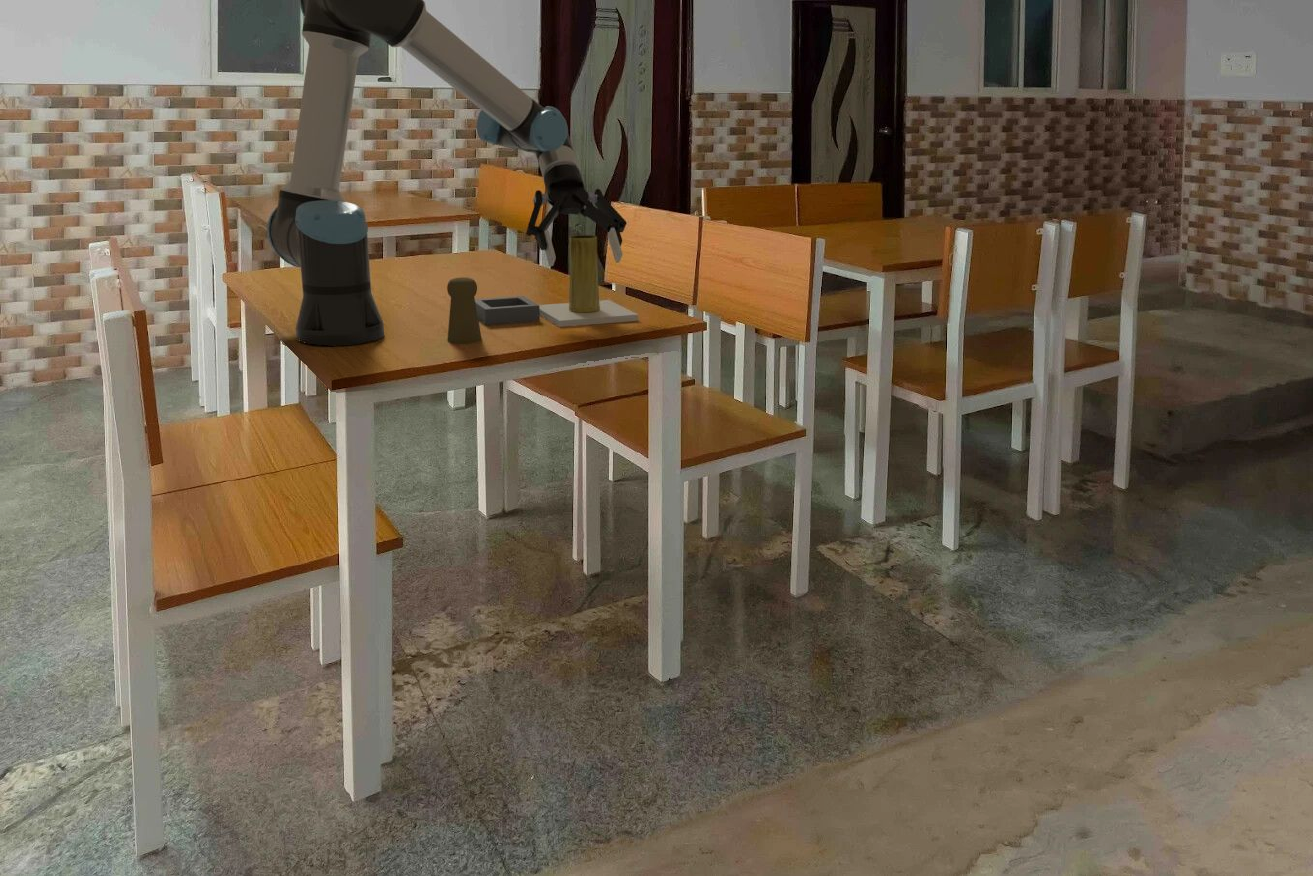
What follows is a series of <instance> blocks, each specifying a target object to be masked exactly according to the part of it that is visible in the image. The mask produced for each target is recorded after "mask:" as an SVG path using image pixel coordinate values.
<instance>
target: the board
mask: <svg viewBox="0 0 1313 876" xmlns="http://www.w3.org/2000/svg"><path fill="white" fill-rule="evenodd" d="M538 305H539V309H540V317H543V318H544V319H546V320H547V321H549V322H550V323H552V324H554V325H555V326H556V327H558V328H563V327H565V328H566V327H577V326H579V327H580V326H588V325H591V326H592V325H600V324H613V323H614V324H615V323H626V322H627V323H628V322H638V321H639V313H637V312H634V311H632V310H630V309H628V308H626V307H624V306H622V305H620V304H618V303H616V302H614V301H612V300H610V299H607V300H606V299H604V300H599V305H600V310H598V311H595V312H586V313H581V312H573V311H570V310H569V302H564V303H563V302H562V303H561V302H560V303H548V304H538Z"/></svg>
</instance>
